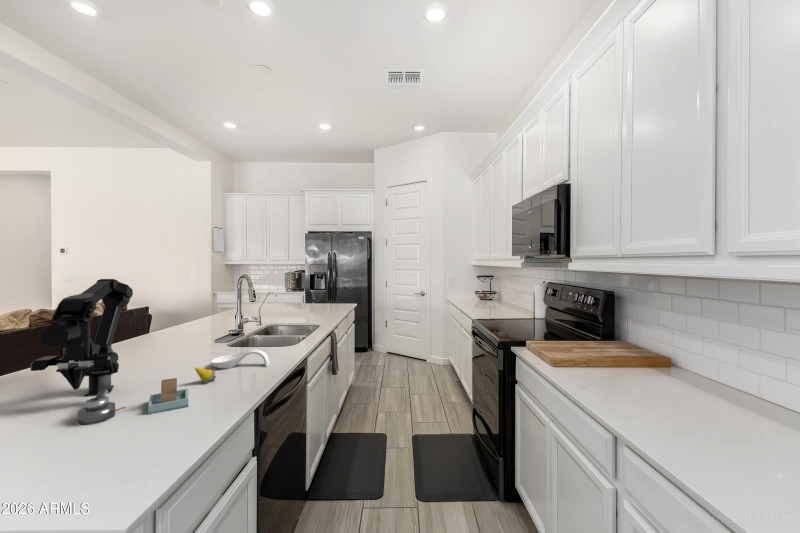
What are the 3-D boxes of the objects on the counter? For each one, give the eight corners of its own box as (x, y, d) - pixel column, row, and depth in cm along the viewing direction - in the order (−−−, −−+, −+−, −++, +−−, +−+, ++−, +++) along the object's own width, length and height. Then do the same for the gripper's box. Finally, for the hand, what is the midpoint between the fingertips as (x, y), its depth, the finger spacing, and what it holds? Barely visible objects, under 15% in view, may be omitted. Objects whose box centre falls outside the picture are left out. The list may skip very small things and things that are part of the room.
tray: (150, 402, 104) (150, 394, 104) (187, 395, 110) (187, 388, 110) (148, 414, 96) (148, 406, 96) (188, 406, 102) (188, 398, 102)
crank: (106, 408, 93) (107, 389, 93) (82, 412, 90) (83, 393, 90) (115, 389, 106) (115, 373, 106) (95, 392, 103) (95, 376, 103)
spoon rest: (205, 371, 135) (205, 354, 135) (217, 363, 146) (217, 347, 146) (265, 370, 138) (265, 353, 138) (272, 361, 150) (272, 346, 150)
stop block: (161, 401, 103) (161, 380, 103) (176, 399, 106) (176, 377, 106) (160, 406, 100) (161, 383, 100) (176, 403, 102) (176, 381, 102)
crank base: (81, 414, 95) (82, 404, 95) (126, 406, 101) (126, 397, 101) (73, 427, 88) (73, 416, 88) (121, 418, 93) (122, 408, 93)
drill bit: (217, 384, 122) (196, 371, 116) (206, 389, 123) (185, 376, 117) (222, 372, 126) (202, 358, 120) (211, 376, 127) (191, 363, 121)
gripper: (126, 331, 110) (125, 377, 110) (55, 334, 104) (54, 382, 104) (109, 338, 100) (109, 389, 100) (29, 342, 93) (28, 396, 93)
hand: (76, 388), depth 99 cm, fingers closed
